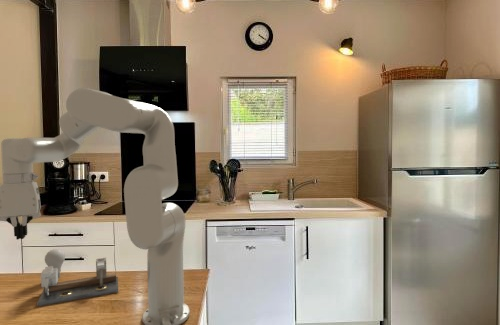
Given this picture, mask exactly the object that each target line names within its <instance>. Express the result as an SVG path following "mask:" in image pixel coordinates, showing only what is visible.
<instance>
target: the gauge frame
mask: <svg viewBox="0 0 500 325" xmlns="http://www.w3.org/2000/svg"><path fill="white" fill-rule="evenodd" d="M95 270H96V276H90V277H85V278H76V279H71V280H65V281H58V282H57V285H55V286H48V289H49V291H55V290H61V289H67V288H74V287H80V286H86V285H92V284H98V283H100V287H102V286H103V283H104V282H110V281H116V277H117V273H110V274H107V257H99V258H96V260H95ZM43 290H44V292H45V287H43Z"/></svg>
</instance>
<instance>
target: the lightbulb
mask: <svg viewBox="0 0 500 325" xmlns="http://www.w3.org/2000/svg"><path fill="white" fill-rule="evenodd" d="M65 259H66V254H65V252H64V251H63V250H62V249H59V248H53V249H50V250H49V251H48V252H46V254H45V256H44V263H45V265H47V266H46V267H49V266H53V268H58V280H59V279H60V278H61V272H62V270H61V269H62V266H63V264H64V262H65Z"/></svg>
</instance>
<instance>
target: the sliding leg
mask: <svg viewBox="0 0 500 325" xmlns="http://www.w3.org/2000/svg"><path fill="white" fill-rule="evenodd" d="M57 282H59V279H58V268H53V266H49V267H48V266H45V268H44V269H42V270H41V272H40V284H41V288H44V287H45V293H46V296H48V295H49V289H48V286H55V285H57Z"/></svg>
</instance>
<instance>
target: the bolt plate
mask: <svg viewBox="0 0 500 325" xmlns="http://www.w3.org/2000/svg"><path fill="white" fill-rule="evenodd" d="M115 293H119V277H118V276H116V281H110V282H104V283H103V286H102V287H100V283H98V284H92V285H86V286H80V287H74V288H67V289H61V290H55V291H49V295H48V296H46V293H45V292H44V289H43V290H42V292H41V294H40V296H39V299H38V300H37V307H43V306H44V307H45V306H48V305H49V306H50V305H55V304H59V303H60V304H61V303H66V302H71V301H76V300H83V299H89V298H93V297H99V296H104V295H109V294H110V295H111V294H115Z"/></svg>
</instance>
